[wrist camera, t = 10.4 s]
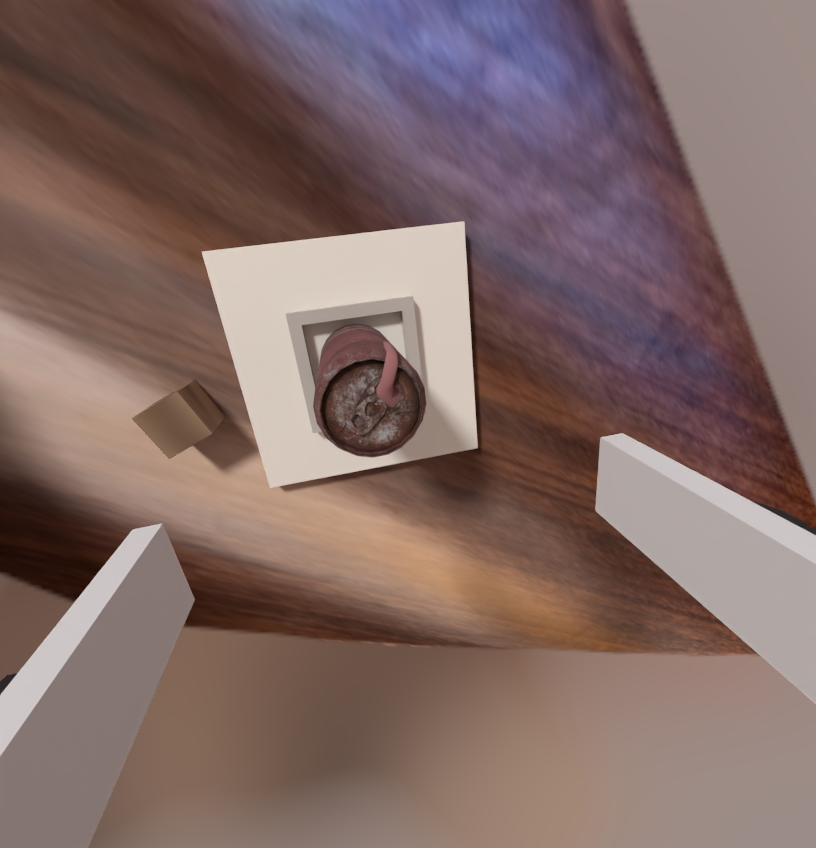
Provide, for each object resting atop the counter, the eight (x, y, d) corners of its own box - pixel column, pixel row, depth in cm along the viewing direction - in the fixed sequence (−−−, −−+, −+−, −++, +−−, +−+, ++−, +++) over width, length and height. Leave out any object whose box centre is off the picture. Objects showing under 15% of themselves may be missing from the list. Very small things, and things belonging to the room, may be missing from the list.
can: (399, 327, 33) (442, 358, 20) (385, 398, 35) (416, 469, 22) (326, 312, 31) (321, 336, 18) (316, 388, 33) (305, 457, 20)
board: (272, 480, 37) (268, 494, 34) (207, 253, 30) (196, 250, 27) (472, 442, 39) (482, 453, 37) (458, 223, 32) (469, 219, 30)
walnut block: (187, 439, 34) (169, 458, 31) (154, 403, 33) (131, 418, 29) (225, 417, 34) (212, 433, 31) (195, 379, 33) (177, 391, 29)
